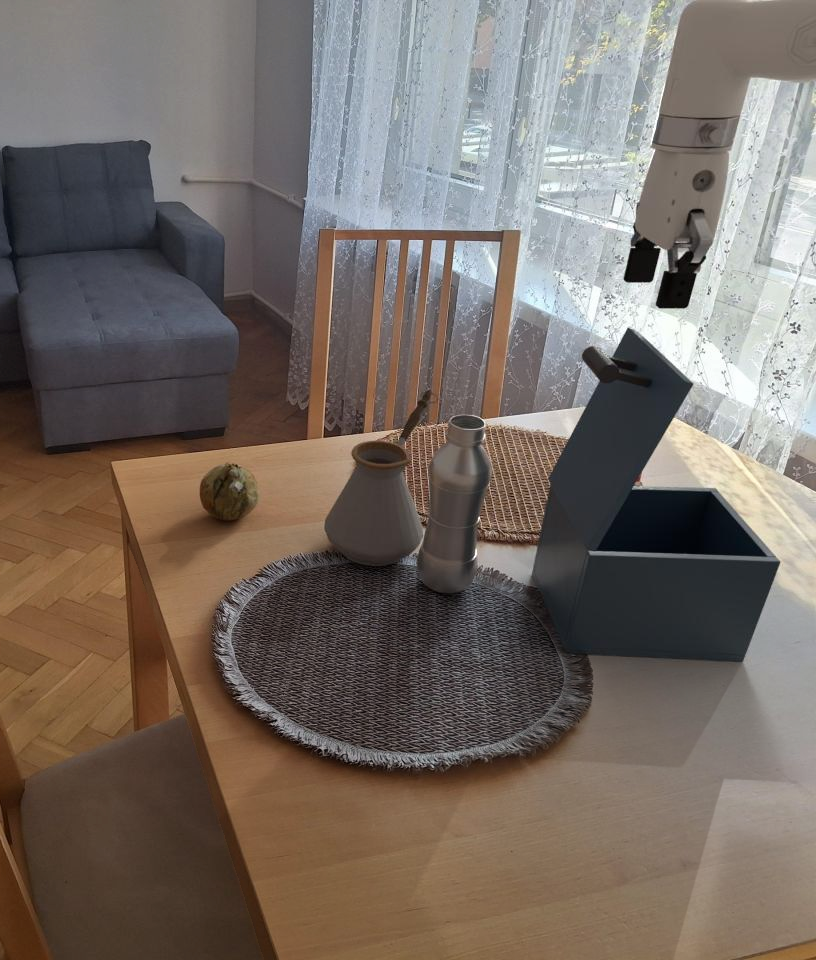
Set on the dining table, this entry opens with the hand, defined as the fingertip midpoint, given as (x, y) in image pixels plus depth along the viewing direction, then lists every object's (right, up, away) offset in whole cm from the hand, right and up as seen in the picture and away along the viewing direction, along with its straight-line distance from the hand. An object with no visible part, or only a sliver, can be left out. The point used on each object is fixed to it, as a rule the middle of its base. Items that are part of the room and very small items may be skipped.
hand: (653, 294), depth 98 cm
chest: (-7, -35, -7) cm, 37 cm away
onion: (-47, -26, +13) cm, 56 cm away
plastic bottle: (-24, -33, -1) cm, 41 cm away
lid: (-13, -17, -17) cm, 27 cm away
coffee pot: (-28, -27, +9) cm, 40 cm away
